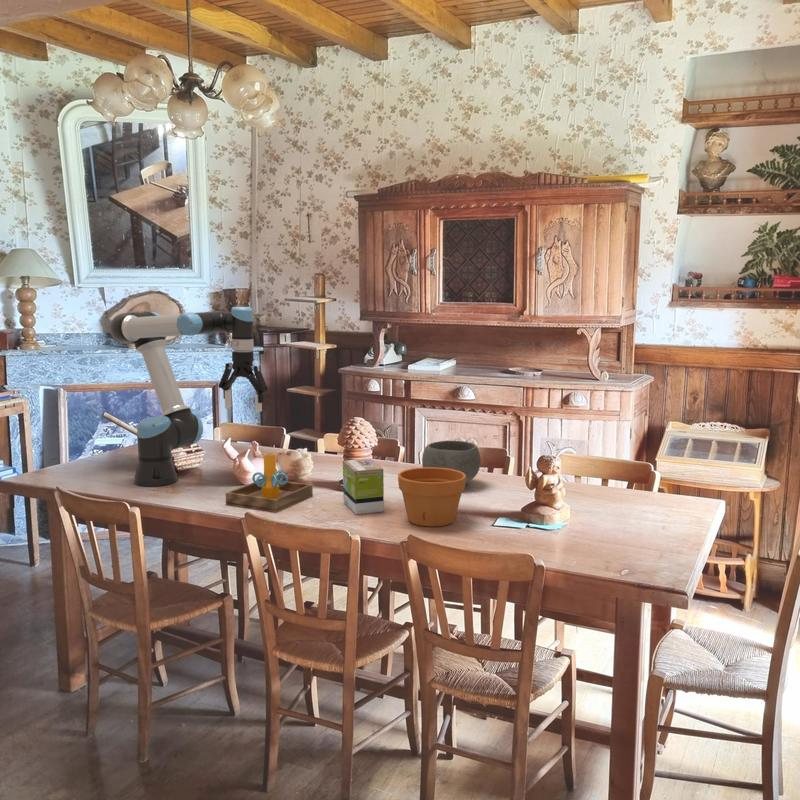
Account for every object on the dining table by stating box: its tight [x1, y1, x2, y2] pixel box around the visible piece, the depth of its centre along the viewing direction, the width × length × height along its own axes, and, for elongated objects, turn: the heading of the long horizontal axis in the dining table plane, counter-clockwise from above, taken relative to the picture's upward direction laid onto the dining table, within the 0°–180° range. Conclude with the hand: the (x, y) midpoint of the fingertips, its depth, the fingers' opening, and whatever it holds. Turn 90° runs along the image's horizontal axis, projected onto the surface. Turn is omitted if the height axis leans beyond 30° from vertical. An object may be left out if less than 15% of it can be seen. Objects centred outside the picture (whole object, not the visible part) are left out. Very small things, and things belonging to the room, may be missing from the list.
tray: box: [225, 479, 314, 513], centre depth 283 cm, size 20×22×4 cm
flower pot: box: [397, 467, 466, 528], centre depth 260 cm, size 21×21×15 cm
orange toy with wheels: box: [252, 452, 289, 499], centre depth 282 cm, size 12×10×15 cm
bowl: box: [421, 440, 482, 485], centre depth 302 cm, size 21×21×15 cm
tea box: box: [342, 458, 385, 515], centre depth 274 cm, size 15×10×15 cm, turn 19°
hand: (243, 410), depth 299 cm, fingers open, 13 cm apart
